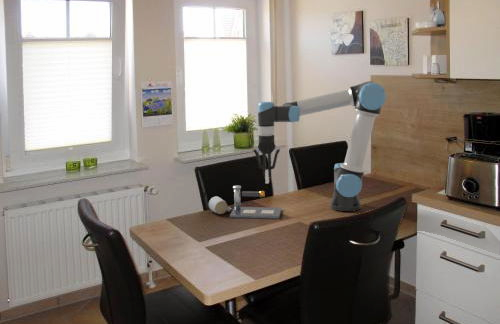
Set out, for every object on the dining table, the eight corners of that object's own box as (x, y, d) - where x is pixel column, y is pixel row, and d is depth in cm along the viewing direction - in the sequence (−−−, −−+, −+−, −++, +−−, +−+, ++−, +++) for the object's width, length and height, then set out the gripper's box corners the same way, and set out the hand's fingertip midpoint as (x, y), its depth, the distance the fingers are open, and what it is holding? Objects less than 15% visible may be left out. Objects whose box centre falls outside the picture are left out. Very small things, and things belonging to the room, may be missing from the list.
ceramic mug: (215, 216, 255) (215, 201, 254) (208, 211, 262) (208, 197, 260) (234, 212, 260) (234, 198, 259) (227, 208, 267) (226, 194, 266)
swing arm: (241, 196, 259) (241, 192, 259) (242, 195, 262) (242, 190, 261) (264, 197, 258) (264, 192, 257) (264, 195, 260) (264, 191, 260)
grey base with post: (281, 210, 262) (281, 185, 260) (279, 218, 249) (278, 192, 246) (234, 209, 266) (234, 184, 263) (229, 217, 252) (229, 192, 250)
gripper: (280, 133, 249) (281, 181, 254) (253, 133, 251) (254, 180, 256) (279, 135, 242) (280, 184, 246) (251, 135, 243) (252, 184, 248)
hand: (267, 182), depth 251 cm, fingers closed
